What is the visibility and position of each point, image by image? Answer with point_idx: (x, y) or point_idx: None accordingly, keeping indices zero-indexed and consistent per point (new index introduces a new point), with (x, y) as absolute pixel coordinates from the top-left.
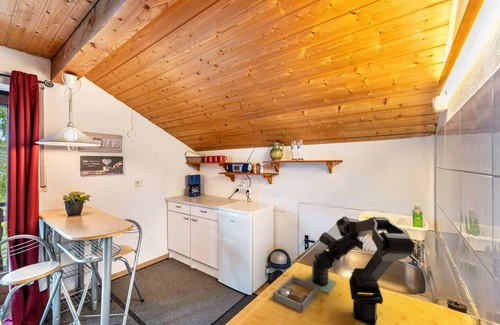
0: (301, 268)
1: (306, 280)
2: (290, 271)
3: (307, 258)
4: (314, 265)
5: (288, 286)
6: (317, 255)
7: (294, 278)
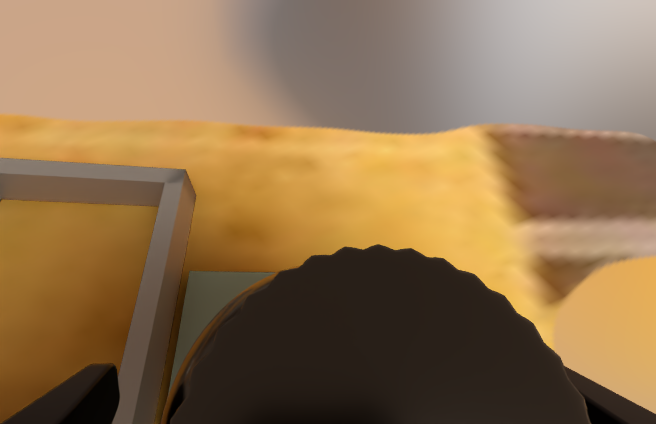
0: (428, 178)
1: (257, 279)
2: (330, 136)
3: (589, 162)
4: (46, 396)
5: (79, 198)
6: (289, 371)
7: (166, 194)
